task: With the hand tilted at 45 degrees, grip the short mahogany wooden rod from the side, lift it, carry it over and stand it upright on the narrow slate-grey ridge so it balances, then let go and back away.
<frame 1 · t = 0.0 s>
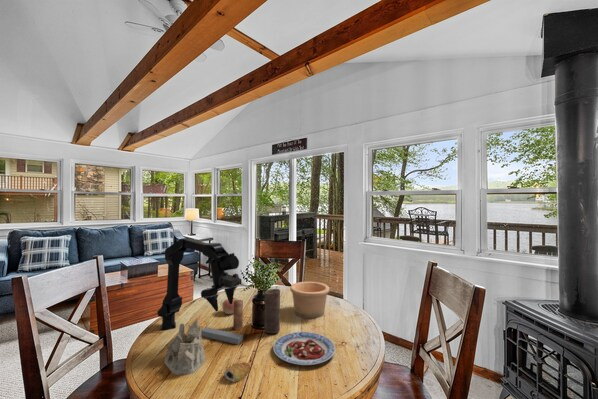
hand: (224, 307, 121), 15 cm above the table, tool pointing down, fingers open, 9 cm apart
candle: (272, 332, 132), on the table
pastry: (237, 376, 99), on the table
ceramic plate: (304, 351, 116), on the table
apple: (230, 313, 154), on the table
grey castle model: (183, 362, 107), on the table
ridge: (221, 338, 125), on the table
rod: (237, 327, 136), on the table
pottery: (309, 312, 156), on the table
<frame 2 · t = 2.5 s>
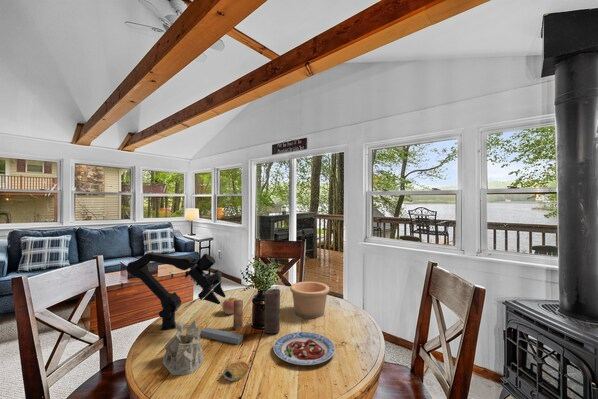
hand: (222, 300, 136), 13 cm above the table, tool tilted 45°, fingers open, 9 cm apart
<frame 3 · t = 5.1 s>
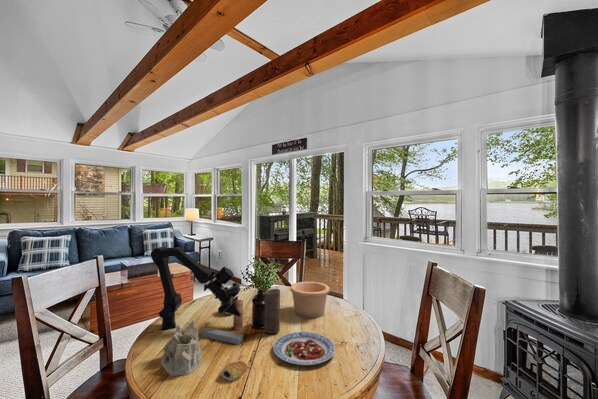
hand: (240, 313, 136), 7 cm above the table, tool tilted 45°, fingers closed on rod, 4 cm apart
rod: (237, 327, 136), on the table, touching gripper
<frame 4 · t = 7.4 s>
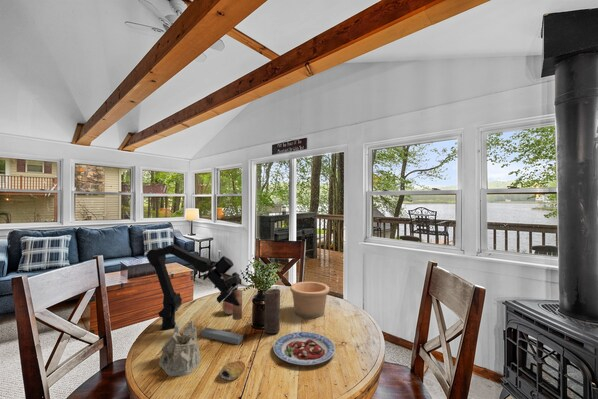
hand: (240, 303, 134), 12 cm above the table, tool tilted 45°, fingers closed on rod, 4 cm apart
rod: (237, 318, 134), point 5 cm above the table, touching gripper
when the fingers open (10 cm above the table, at t = 9.8 s): rod stays where it is, resting on ridge.
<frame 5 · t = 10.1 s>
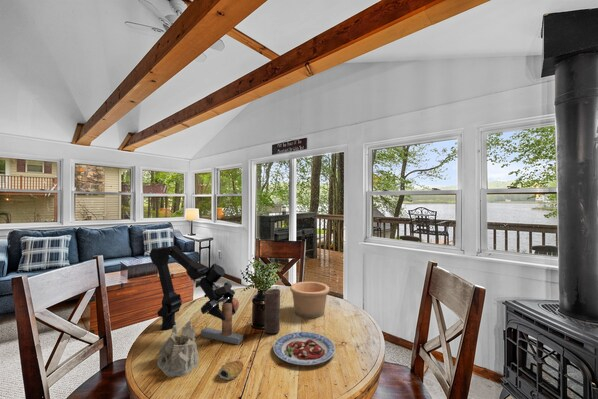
hand: (229, 316, 124), 11 cm above the table, tool tilted 45°, fingers open, 7 cm apart
rod: (226, 333, 124), point 3 cm above the table, touching ridge
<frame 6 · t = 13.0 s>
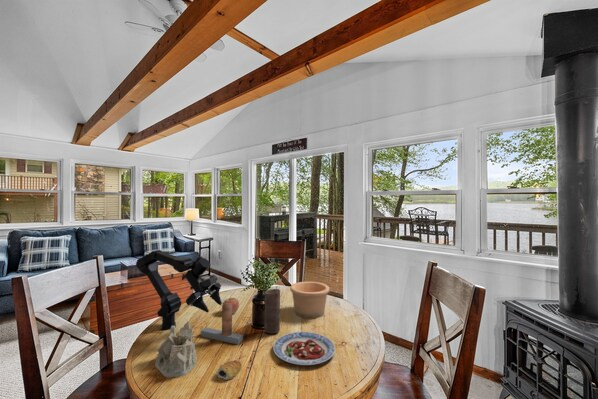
hand: (214, 308, 127), 13 cm above the table, tool tilted 45°, fingers open, 9 cm apart
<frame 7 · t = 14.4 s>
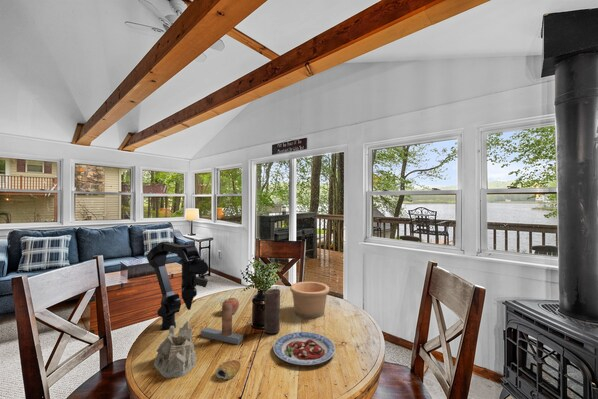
hand: (188, 306, 129), 13 cm above the table, tool pointing down, fingers open, 9 cm apart
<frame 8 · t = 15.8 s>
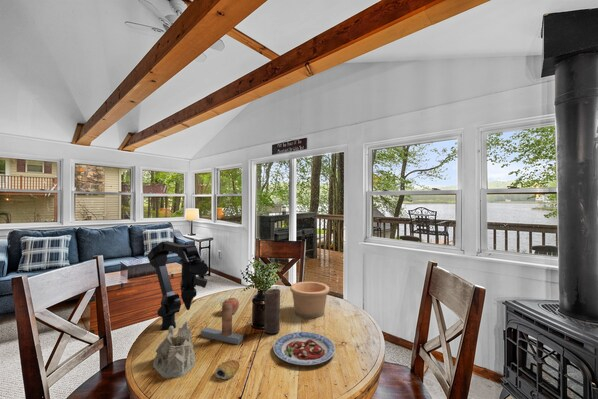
hand: (187, 306, 129), 13 cm above the table, tool pointing down, fingers open, 9 cm apart
at the end: rod inside the target area on the ridge (0.6 cm from its centre), point 2.5 cm above the ridge's base; rod tilted 0°; the gripper is holding nothing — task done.
